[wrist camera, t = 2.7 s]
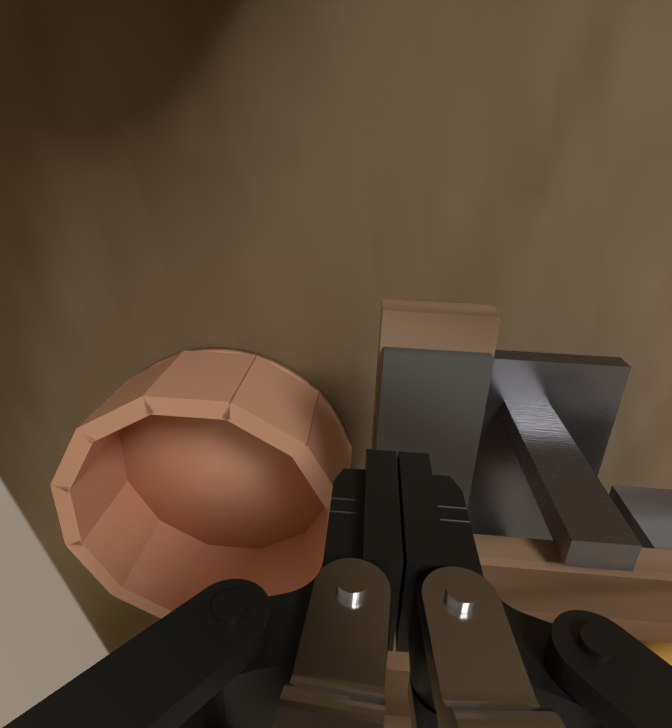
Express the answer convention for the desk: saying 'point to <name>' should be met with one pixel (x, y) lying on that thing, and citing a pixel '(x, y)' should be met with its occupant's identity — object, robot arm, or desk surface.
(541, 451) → the chute stand
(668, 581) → the chute
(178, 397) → the pink round bowl
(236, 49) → the desk surface
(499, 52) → the desk surface
